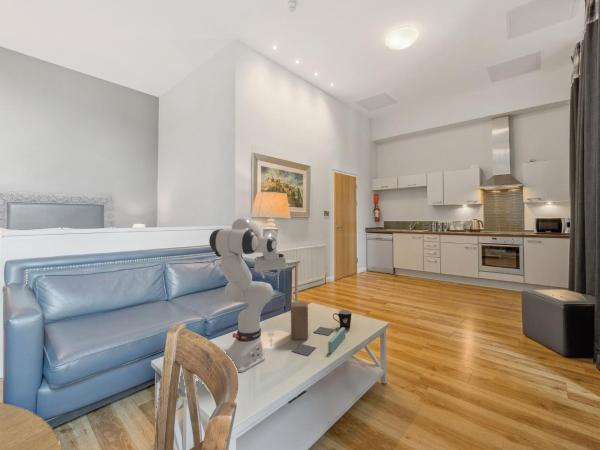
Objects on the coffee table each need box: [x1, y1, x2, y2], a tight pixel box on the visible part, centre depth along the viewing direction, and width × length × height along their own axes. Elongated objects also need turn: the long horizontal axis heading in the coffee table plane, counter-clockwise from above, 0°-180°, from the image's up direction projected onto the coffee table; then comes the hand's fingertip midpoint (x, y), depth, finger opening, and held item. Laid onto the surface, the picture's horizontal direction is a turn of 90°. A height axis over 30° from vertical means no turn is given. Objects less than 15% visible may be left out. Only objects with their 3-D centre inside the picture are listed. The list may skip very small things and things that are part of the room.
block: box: [290, 301, 309, 341], centre depth 166 cm, size 10×10×20 cm
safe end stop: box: [327, 327, 346, 355], centre depth 155 cm, size 22×2×6 cm, turn 152°
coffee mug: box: [332, 309, 352, 330], centre depth 182 cm, size 12×9×10 cm
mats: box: [290, 326, 335, 357], centre depth 162 cm, size 38×10×1 cm, turn 152°
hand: (270, 276), depth 173 cm, fingers open, 8 cm apart
